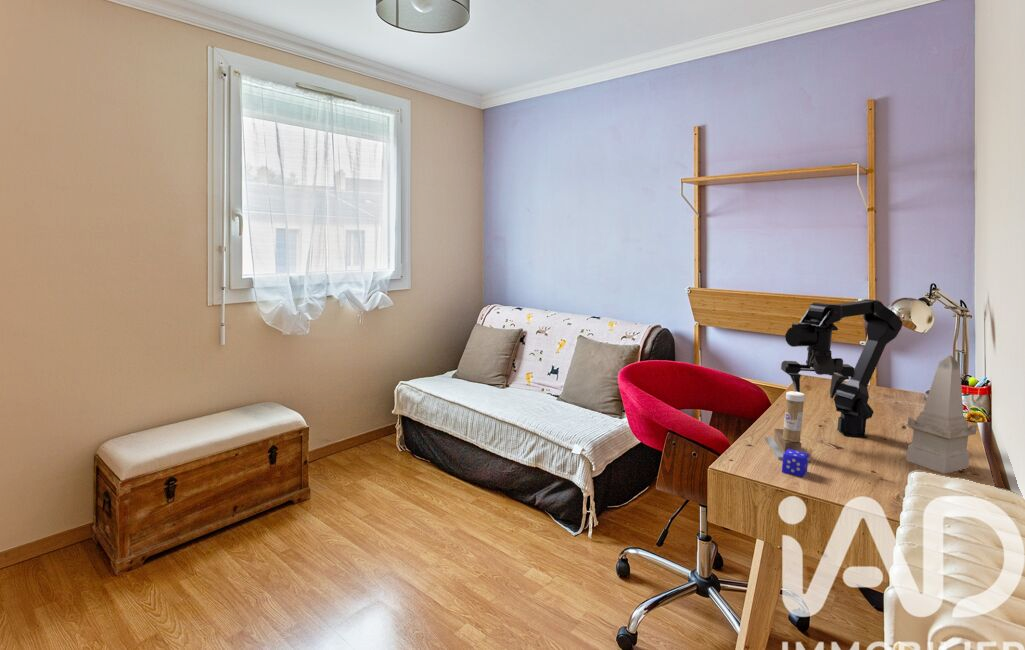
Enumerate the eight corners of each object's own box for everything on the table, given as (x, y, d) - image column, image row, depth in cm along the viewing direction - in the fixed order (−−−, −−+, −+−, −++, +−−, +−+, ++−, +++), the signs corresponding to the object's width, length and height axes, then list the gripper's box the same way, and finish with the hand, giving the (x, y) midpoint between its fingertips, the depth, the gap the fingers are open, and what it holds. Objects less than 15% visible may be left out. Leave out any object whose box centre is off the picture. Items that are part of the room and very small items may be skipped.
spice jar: (778, 438, 153) (782, 391, 151) (788, 436, 155) (792, 390, 153) (794, 443, 149) (798, 395, 147) (804, 441, 151) (808, 393, 149)
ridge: (793, 442, 163) (795, 428, 162) (810, 462, 147) (811, 447, 147) (764, 439, 164) (765, 425, 164) (778, 459, 149) (779, 444, 148)
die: (786, 466, 144) (787, 448, 144) (807, 471, 141) (808, 453, 141) (781, 472, 140) (783, 453, 140) (803, 477, 137) (804, 458, 137)
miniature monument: (970, 469, 144) (986, 357, 140) (944, 474, 140) (959, 359, 136) (928, 455, 154) (941, 350, 150) (903, 459, 150) (916, 352, 146)
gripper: (792, 348, 156) (788, 401, 159) (865, 352, 153) (859, 406, 155) (782, 342, 167) (778, 391, 169) (850, 345, 163) (845, 396, 165)
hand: (814, 396), depth 164 cm, fingers open, 9 cm apart
